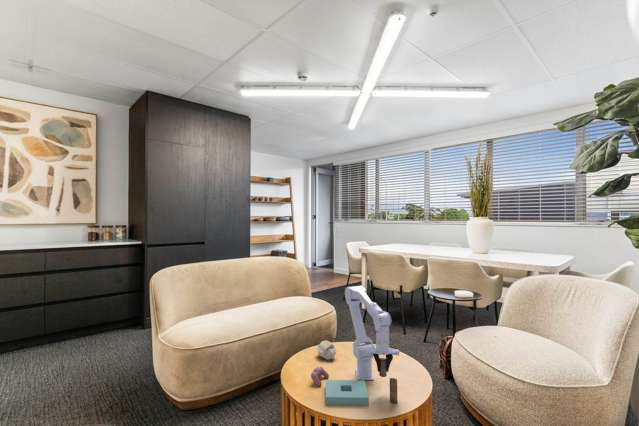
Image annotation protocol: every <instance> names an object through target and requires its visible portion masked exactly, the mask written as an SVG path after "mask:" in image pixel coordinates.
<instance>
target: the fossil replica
mask: <svg viewBox="0 0 639 426" xmlns="http://www.w3.org/2000/svg"><path fill="white" fill-rule="evenodd" d="M316 350H317V354H318V356H320V357H322V358H323V359H324V360H334V359H335V356H336V354H337V349H336V347H335V345H334V344H333V342H331V341H329V340H328V339H327V340H322V341H321V342H320V343H319V345H318V346H317V348H316Z"/></svg>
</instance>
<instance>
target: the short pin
mask: <svg viewBox="0 0 639 426" xmlns="http://www.w3.org/2000/svg"><path fill="white" fill-rule="evenodd" d="M379 358H380V363H379V366H380V372H378V373H379V374H378V375H379V377H381V378H386V377H387V373H388V372H387V370H386V357H379Z"/></svg>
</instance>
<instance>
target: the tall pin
mask: <svg viewBox="0 0 639 426" xmlns="http://www.w3.org/2000/svg"><path fill="white" fill-rule="evenodd" d="M389 402H390V403H391V404H398V402H399V401H398V379H397V378H395V377H391V378H389Z"/></svg>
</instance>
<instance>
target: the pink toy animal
mask: <svg viewBox="0 0 639 426" xmlns="http://www.w3.org/2000/svg"><path fill="white" fill-rule="evenodd" d="M329 375H330V374H329V373H328V372H327V371H326V370H325V369H324V368H323V367H322V366H317V367H315V368H314V369H313V371H312V372H311V374H310V378H311V380H312V381H313V382H314V384H316V386H318V387H322V381H321V380H322V379H323V377H324V378H326V379H329V377H330V376H329Z"/></svg>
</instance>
